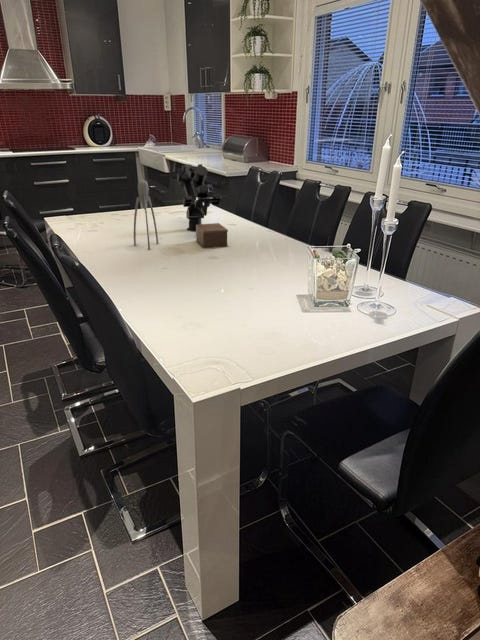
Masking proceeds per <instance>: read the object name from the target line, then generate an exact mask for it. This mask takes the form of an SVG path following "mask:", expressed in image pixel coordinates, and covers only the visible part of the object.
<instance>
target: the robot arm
mask: <svg viewBox="0 0 480 640" xmlns="http://www.w3.org/2000/svg"><path fill="white" fill-rule="evenodd" d="M207 177H208V169H207V168H206V167H205V166H204V165H203V164H200V163H198V164H197V166H195V165H192V164H182V166H181V168H180V169H179V170H178V171H177V175H176V181H177V183H178V185H179V186H180V187H181V188H183V189H184V193H185V195H184V196H183V199H182V206H183V207H184V208H187V209H186V213H185V216H186V219H187V220H188V228H186V230H189V231H193V232H196V225H198V224H202V219H204V218H205V217H206V216H207V214H208V208H209V207H210V205H212V206H221V202H222V199H223V197H222V195H221V194H219V193H218V194H212V196H211V197H209V196H210V195H209V193H210V192H212V191H213V184H212V183H208V184H205V181H206V179H207Z"/></svg>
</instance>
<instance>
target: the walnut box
mask: <svg viewBox="0 0 480 640" xmlns="http://www.w3.org/2000/svg"><path fill="white" fill-rule="evenodd" d="M195 239H196V240H195V241H196V242H197V244H198V245H199V246H200V247H202V248H203V249H211V248H212V249H213V248H224V247H228V232H214V233H203V232H202V231H201V230H200V229H199V228H197V227H196V231H195Z"/></svg>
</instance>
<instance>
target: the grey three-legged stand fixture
mask: <svg viewBox="0 0 480 640" xmlns="http://www.w3.org/2000/svg"><path fill="white" fill-rule="evenodd" d="M149 190H150V189H149V184H148V181H147V180H146V179H145V180H144V179H141V180H139V181H138V183H137V193H138V196H136V200H135V207H134V216H133V217H134V218H133V245H134V246H137V240H136V239H137V238H136V237H137V234H136V233H137V216H138V215H137V214H138V207H139V203H141V205H142V207H143V210H144V212H145V224H146V235H147V236H146V237H147V249H148V251H150V250H151V244H150V243H151V241H150V231H149V222H148V212H147V204H148V205H149V208H150V211H151V216H152V220H153V226H154V232H155V240H156V244H157V245H159V236H158V229H157V222H156V216H155V211H154V207H153V204H152V200H151V196H150V195H149Z"/></svg>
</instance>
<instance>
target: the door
mask: <svg viewBox="0 0 480 640" xmlns="http://www.w3.org/2000/svg"><path fill="white" fill-rule="evenodd" d="M196 227H197V228H199V229H200V230H201V231H202V232H203V233H214V232H227V233H228V232H229V229H228V228H226V227H225V226H224V225H222V224H221V223H219V222H216V223H201V224H198V225H196Z"/></svg>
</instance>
